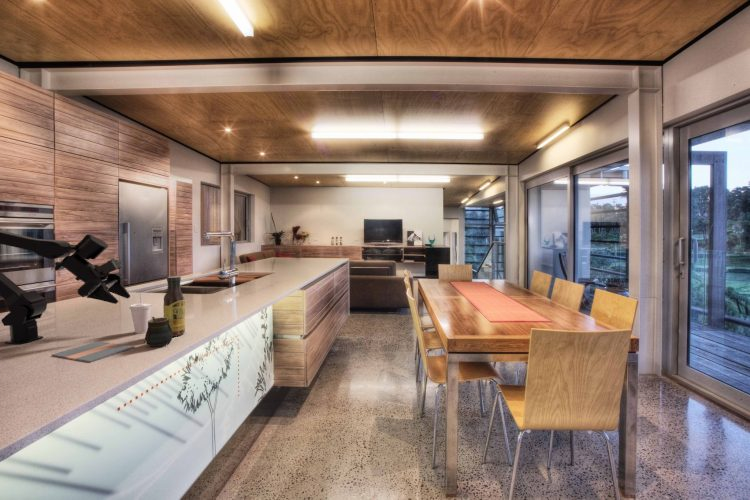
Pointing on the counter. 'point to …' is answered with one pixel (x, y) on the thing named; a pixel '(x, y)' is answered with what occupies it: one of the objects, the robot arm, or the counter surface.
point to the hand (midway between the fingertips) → (123, 299)
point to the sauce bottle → (175, 306)
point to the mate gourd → (158, 332)
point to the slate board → (93, 351)
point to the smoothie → (140, 315)
